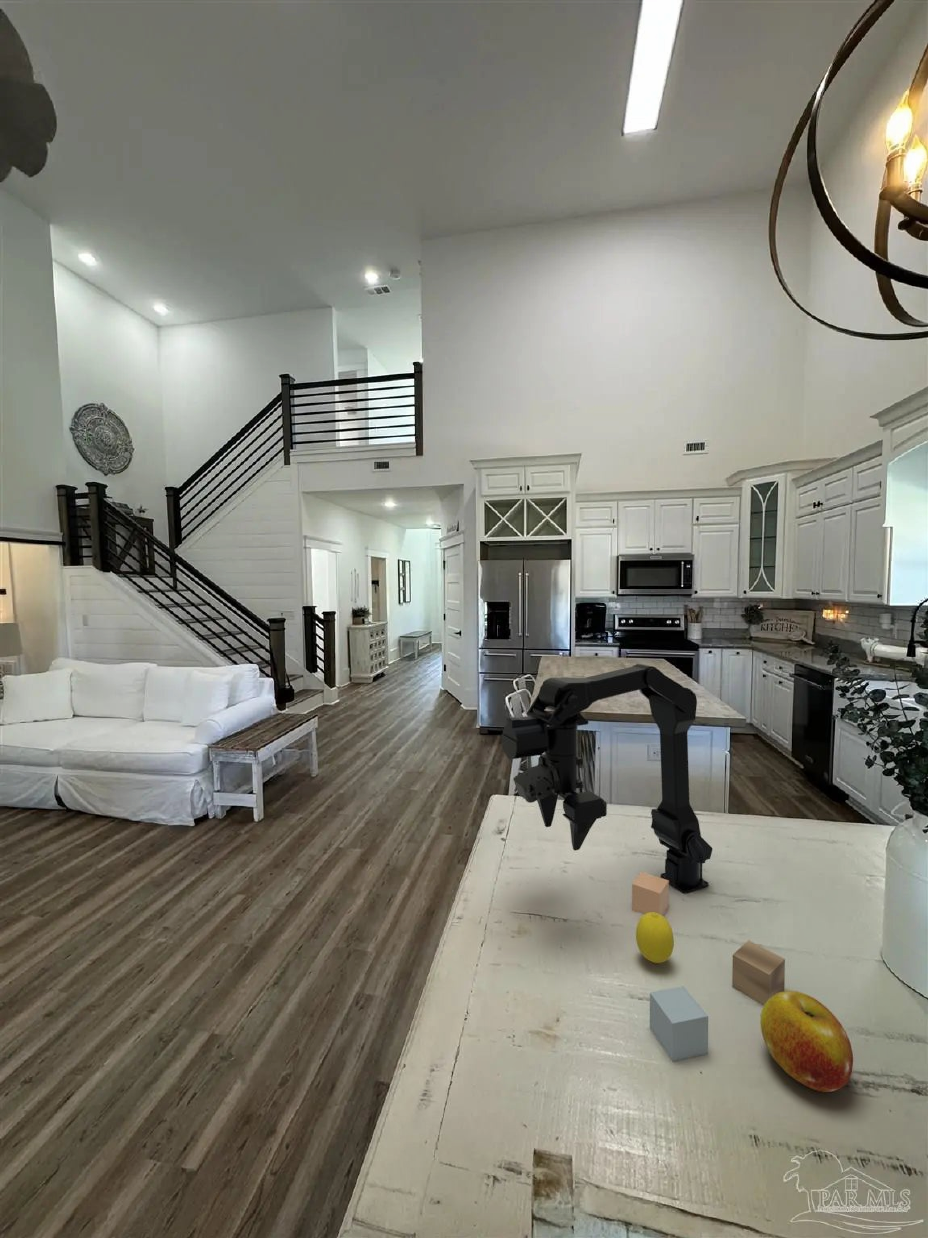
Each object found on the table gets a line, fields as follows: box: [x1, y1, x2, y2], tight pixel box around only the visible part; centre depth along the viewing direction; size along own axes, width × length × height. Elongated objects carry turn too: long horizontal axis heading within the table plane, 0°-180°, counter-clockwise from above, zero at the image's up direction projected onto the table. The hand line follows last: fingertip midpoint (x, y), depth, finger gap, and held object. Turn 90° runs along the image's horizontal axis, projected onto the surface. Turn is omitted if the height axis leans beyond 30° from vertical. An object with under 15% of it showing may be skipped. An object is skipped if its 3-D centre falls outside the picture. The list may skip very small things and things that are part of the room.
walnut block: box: [731, 939, 786, 1007], centre depth 74 cm, size 5×5×5 cm
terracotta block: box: [631, 871, 670, 917], centre depth 93 cm, size 5×5×5 cm
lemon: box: [635, 912, 675, 964], centre depth 80 cm, size 6×6×8 cm
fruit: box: [759, 990, 854, 1093], centre depth 61 cm, size 10×9×8 cm
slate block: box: [649, 985, 709, 1062], centre depth 66 cm, size 5×5×5 cm
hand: (561, 837), depth 90 cm, fingers open, 9 cm apart
